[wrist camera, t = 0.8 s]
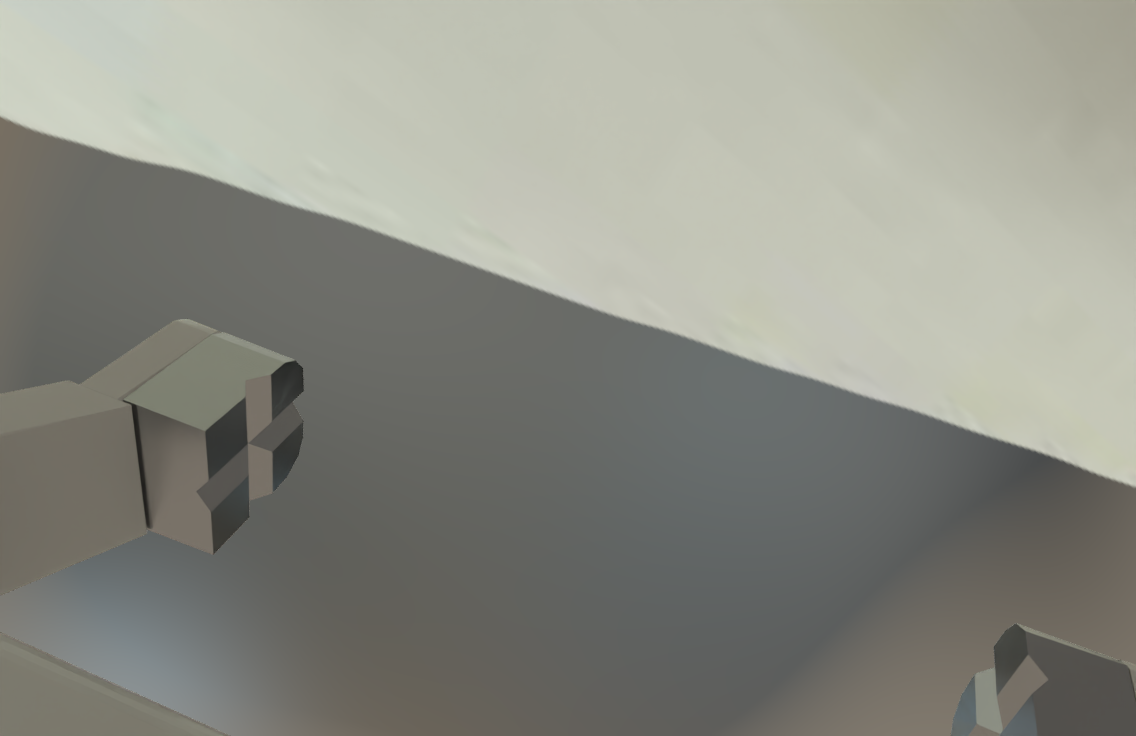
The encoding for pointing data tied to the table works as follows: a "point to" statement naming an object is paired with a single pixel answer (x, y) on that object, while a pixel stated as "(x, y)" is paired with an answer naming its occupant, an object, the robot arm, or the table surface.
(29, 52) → the table surface
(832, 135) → the table surface
